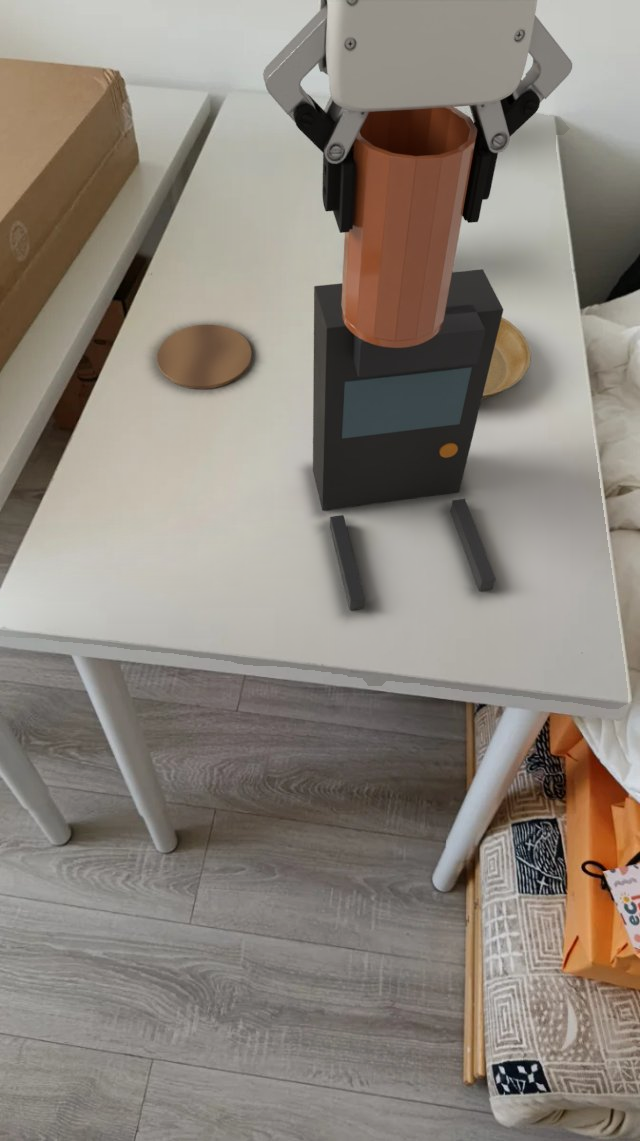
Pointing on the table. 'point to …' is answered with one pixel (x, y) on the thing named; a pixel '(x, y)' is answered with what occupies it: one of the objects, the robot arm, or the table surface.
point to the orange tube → (405, 223)
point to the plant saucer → (507, 360)
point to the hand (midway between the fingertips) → (403, 212)
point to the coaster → (204, 356)
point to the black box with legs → (400, 415)
